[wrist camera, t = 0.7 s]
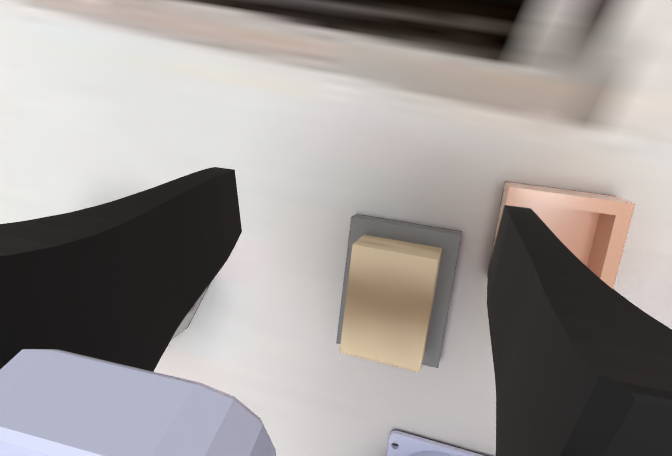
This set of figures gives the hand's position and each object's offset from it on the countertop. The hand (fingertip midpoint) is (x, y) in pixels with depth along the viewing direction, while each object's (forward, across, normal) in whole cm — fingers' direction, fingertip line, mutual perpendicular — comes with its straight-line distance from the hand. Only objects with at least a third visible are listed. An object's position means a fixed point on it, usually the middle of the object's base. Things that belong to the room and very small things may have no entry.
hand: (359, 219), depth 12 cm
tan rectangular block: (+13, 0, +13) cm, 18 cm away
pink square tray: (+15, -9, +9) cm, 20 cm away
